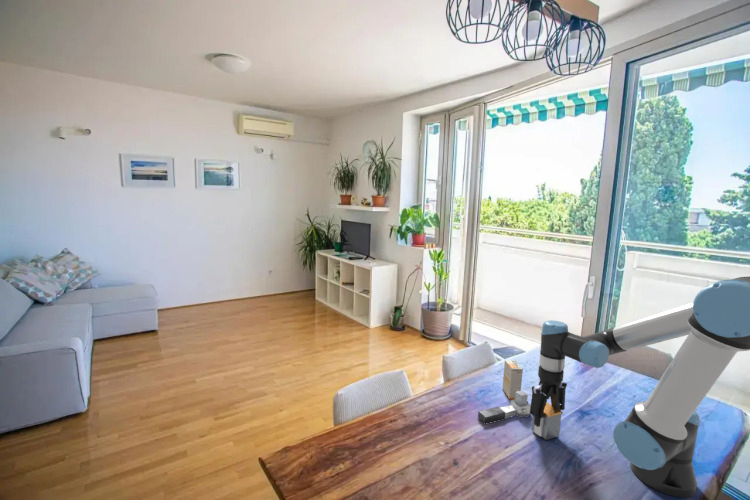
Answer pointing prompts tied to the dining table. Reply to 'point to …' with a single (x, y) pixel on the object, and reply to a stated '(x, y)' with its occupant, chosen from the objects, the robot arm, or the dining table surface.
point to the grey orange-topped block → (550, 422)
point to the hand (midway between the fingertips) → (545, 431)
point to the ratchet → (507, 409)
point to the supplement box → (512, 378)
